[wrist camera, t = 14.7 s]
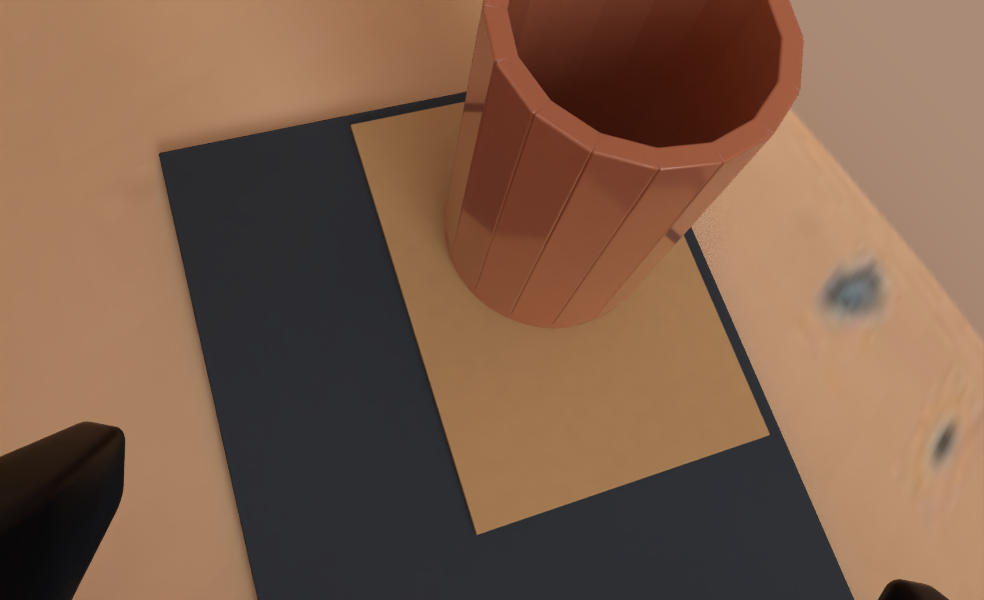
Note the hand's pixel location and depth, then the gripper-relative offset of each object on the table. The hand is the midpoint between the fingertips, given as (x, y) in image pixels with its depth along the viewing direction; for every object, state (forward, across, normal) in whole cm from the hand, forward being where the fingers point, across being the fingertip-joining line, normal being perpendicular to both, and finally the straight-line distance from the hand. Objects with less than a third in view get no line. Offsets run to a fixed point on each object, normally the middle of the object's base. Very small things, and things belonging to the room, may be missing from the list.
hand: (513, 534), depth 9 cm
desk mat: (+12, -2, +7) cm, 14 cm away
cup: (+17, -2, +2) cm, 17 cm away
